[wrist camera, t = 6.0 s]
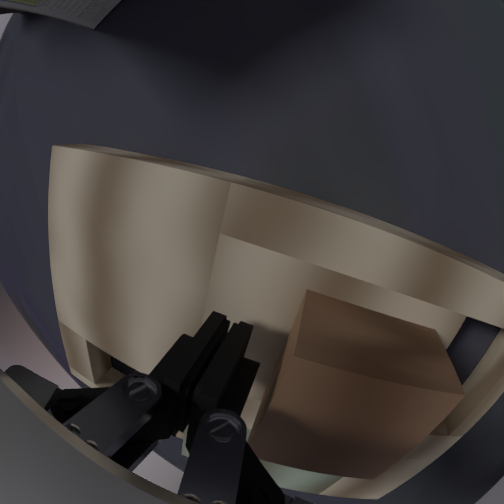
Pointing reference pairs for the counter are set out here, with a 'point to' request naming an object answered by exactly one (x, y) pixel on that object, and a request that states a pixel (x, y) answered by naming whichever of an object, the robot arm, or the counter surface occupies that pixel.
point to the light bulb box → (66, 9)
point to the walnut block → (352, 391)
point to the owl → (10, 11)
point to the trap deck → (245, 280)
